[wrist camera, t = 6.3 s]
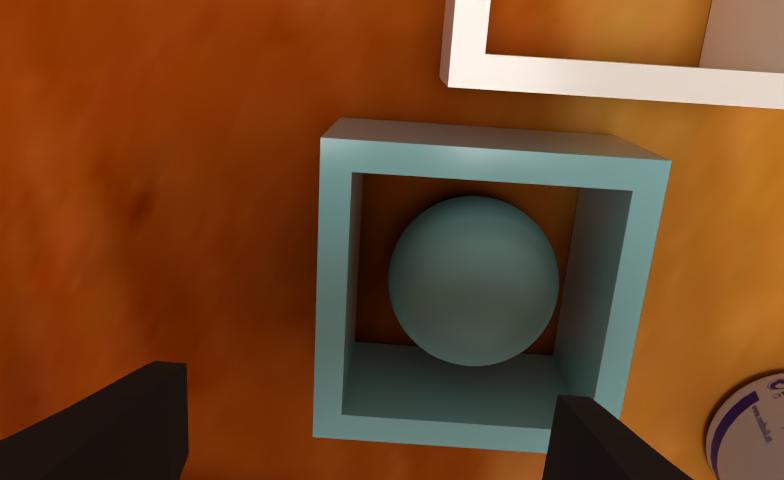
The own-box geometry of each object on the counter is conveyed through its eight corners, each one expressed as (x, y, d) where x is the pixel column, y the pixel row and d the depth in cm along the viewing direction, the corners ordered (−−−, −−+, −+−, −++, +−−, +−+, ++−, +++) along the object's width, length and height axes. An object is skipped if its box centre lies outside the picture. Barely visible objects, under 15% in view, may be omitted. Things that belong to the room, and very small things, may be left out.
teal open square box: (572, 377, 22) (611, 458, 18) (331, 360, 22) (312, 437, 18) (613, 135, 19) (671, 160, 15) (340, 117, 19) (320, 137, 15)
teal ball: (528, 325, 21) (565, 405, 17) (384, 317, 21) (380, 394, 17) (547, 185, 20) (595, 228, 15) (393, 175, 20) (392, 215, 15)
